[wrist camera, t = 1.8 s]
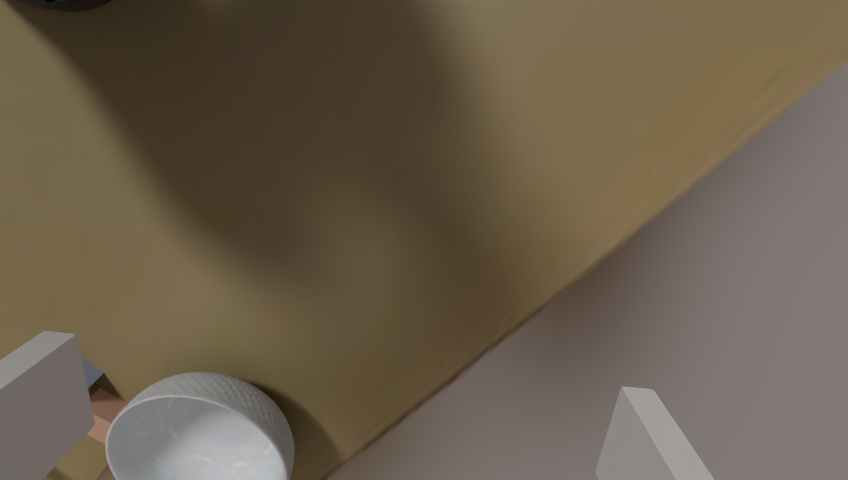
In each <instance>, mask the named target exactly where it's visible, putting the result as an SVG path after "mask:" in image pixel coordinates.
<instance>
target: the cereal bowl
mask: <svg viewBox="0 0 848 480" xmlns="http://www.w3.org/2000/svg"><path fill="white" fill-rule="evenodd" d="M105 448H106V457H107V461H108V464H109V467H110V469H111V471H112V473H113V475H114V477H115V478H116V480H290V478H291V473H292V470H293V463H294V455H295V454H294V440H293V436H292V432H291V429H290V426H289V424H288V422H287V419H286V418H285V416H284V414H283V412H282V411H281V410H280V408H279V407H278V406H277V405H276V404H275V402H274V401H273V400H272V399H271V398H270V397H269V396H267V395H266V394H265V393H264V392H262V391H261V390H259V389H258V388H257V387H255V386H254V385H251V384H250V383H247V382H246V381H243V380H242V379H238V378H235V377H233V376H229V375H225V374H219V373H214V372H189V373H182V374H179V375H174V376H171V377H168V378H165V379H163V380H161V381H157V382H156V383H155V384H153V385H151V386H149V387H148V388H147V389H145V390H143V391H142V392H141V393H140V394H138V395H136V397H135V398H134V399H133V400H131V401H130V402H129V404H128V405H127V406H125V407H124V408H123V409H122V411H121V412H119V413H118V415H117V417H116V418H115V419H114V420H113V422H112V424H111V425H110V428H109V430H108V433H107V437H106V445H105Z"/></svg>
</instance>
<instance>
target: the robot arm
mask: <svg viewBox="0 0 848 480" xmlns="http://www.w3.org/2000/svg"><path fill="white" fill-rule="evenodd" d="M12 1H15V2H18V3H21V4H24V5H28V6H33V7H39V8H46V9H53V10H60V11H80V10H86V9H91V8H94V7H97V6H100V5H102V4H104V3H106V2H108V1H110V0H12ZM94 426H95V420H94V415H93V410H92V406H91V401H90V396H89V392H88V387H87V382H86V377H85V373H84V368H83V363H82V359H81V354H80V349H79V344H78V340H77V335H76V334H71V333H60V332H50V331H43V332H42V333H40V334H39V335H37V336H36V337H34V338H33V339H31V340H30V341H28V342H27V343H25V344H24V345H22V346H21V347H19V348H18V349H16V350H15V351H13V352H12V353H10V354H9V355H7V356H6V357H4V358H3V359H1V360H0V480H42V479H43V478H44V477H45V476H46V475H47V474H48V473H49V472H50V471H51V470H52V469H53V468H54V467H55V466H56V465H57V464H58V463H59V462H60V461H61V460H62V459H63V458H64V457H65V456H66V455H67V454H68V453H69V451H70V450H71V449H72V448H73V447H74V446H75V445H76V444H77V443H78V442H79V441H80V440H81V439H82V438H83V437H84V436H85V435H86V434H87V433H88V432H89V431H90V430H91V429H92V428H93V427H94ZM595 472H596V475H597V477H598V480H714V479H713V477H712V476H711V474H710V473H709V472H708V470H707V469H706V467H705V466H704V464H703V463H702V461H701V460H700V458H699V457H698V455H697V454H696V452H695V451H694V449H693V448H692V446H691V445H690V443H689V442H688V440H687V439H686V437H685V436H684V434H683V433H682V432H681V430H680V429H679V427H678V426H677V424H676V423H675V421H674V420H673V418H672V417H671V415H670V414H669V412H668V411H667V409H666V408H665V406H664V405H663V404H662V402H661V400H660V399H659V398H658V396H657V395H656V393H655V392H654V390H653V389H643V388H632V387H623V386H622V387H621V390H620V393H619V396H618V399H617V403H616V406H615V409H614V412H613V416H612V419H611V423H610V426H609V429H608V432H607V435H606V439H605V442H604V445H603V448H602V452H601V455H600V458H599V462H598V465H597V468H596V471H595Z"/></svg>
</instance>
